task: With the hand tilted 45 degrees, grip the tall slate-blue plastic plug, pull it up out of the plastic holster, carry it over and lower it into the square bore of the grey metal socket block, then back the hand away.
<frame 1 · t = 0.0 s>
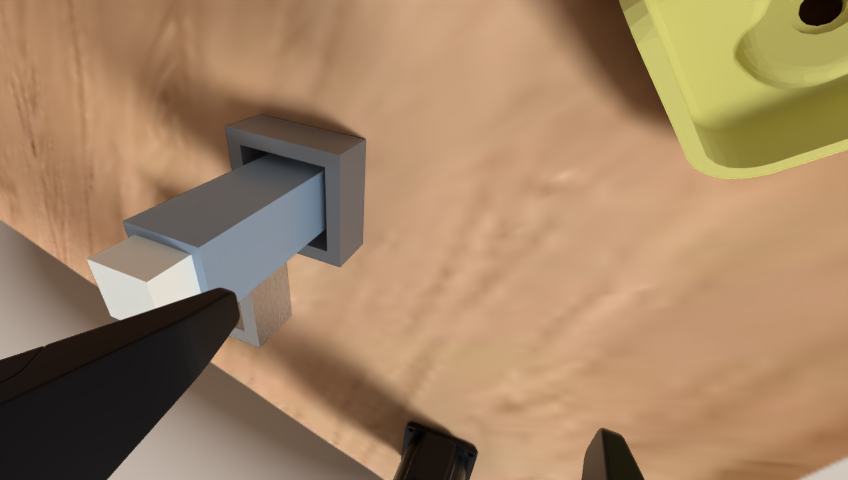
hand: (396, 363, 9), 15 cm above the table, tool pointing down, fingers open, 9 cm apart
socket block: (244, 261, 33), on the table
holster: (313, 181, 26), on the table
plug: (244, 226, 21), in the holster
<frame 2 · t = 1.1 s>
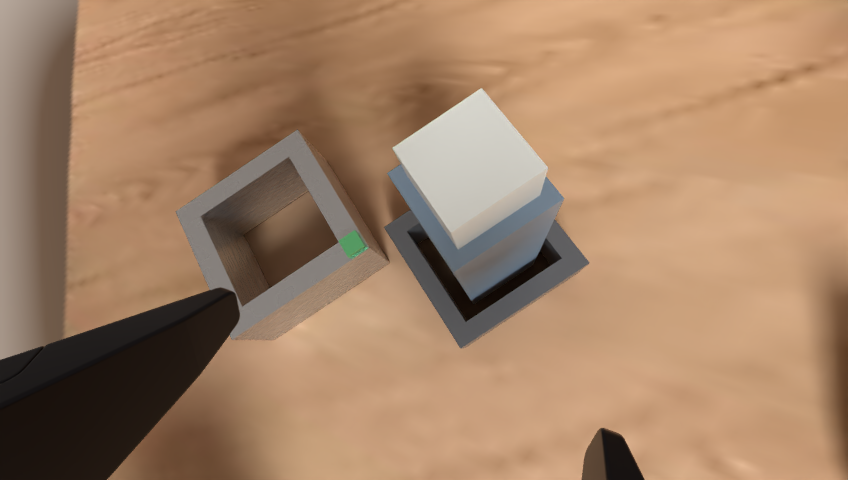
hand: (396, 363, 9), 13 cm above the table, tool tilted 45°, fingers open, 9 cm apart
socket block: (301, 245, 25), on the table
holster: (482, 256, 23), on the table
plug: (477, 225, 17), in the holster
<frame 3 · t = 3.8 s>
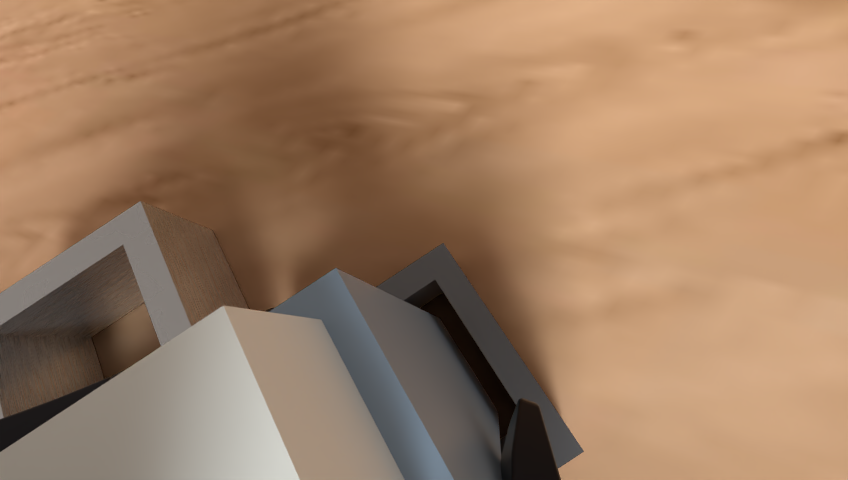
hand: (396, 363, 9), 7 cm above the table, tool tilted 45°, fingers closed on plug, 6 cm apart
socket block: (167, 359, 17), on the table
holster: (423, 392, 15), on the table
plug: (377, 423, 9), in the holster, touching gripper
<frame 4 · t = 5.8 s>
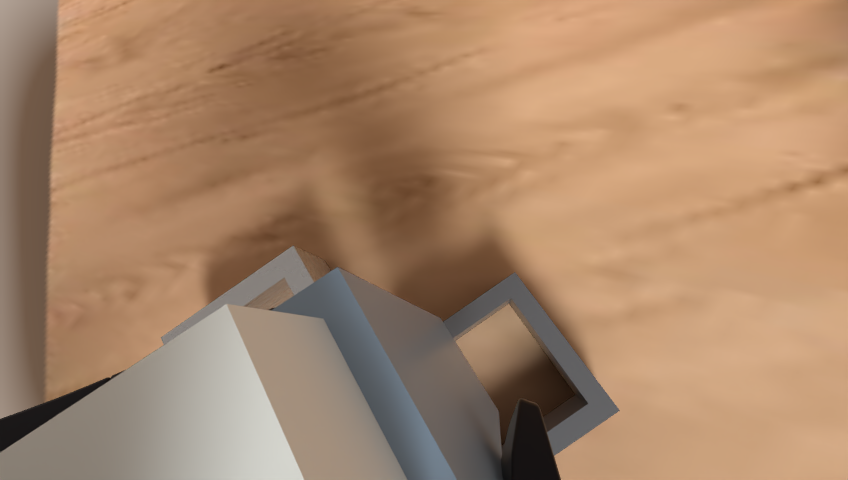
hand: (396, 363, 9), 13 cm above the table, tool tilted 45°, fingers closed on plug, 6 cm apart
socket block: (299, 358, 23), on the table
holster: (497, 377, 21), on the table
plug: (378, 423, 9), point 13 cm above the table, touching gripper
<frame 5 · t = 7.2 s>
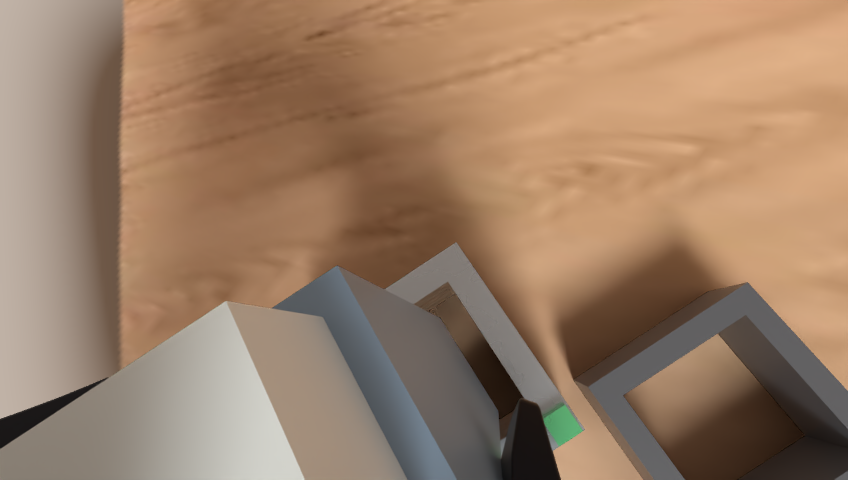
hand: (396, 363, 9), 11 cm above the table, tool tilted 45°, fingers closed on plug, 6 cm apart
socket block: (438, 378, 19), on the table
holster: (698, 410, 17), on the table
plug: (377, 422, 9), point 11 cm above the table, touching gripper
when the fingers open (8 cm above the table, at t = 8.2 s): plug drops 1 cm, resting in socket block.
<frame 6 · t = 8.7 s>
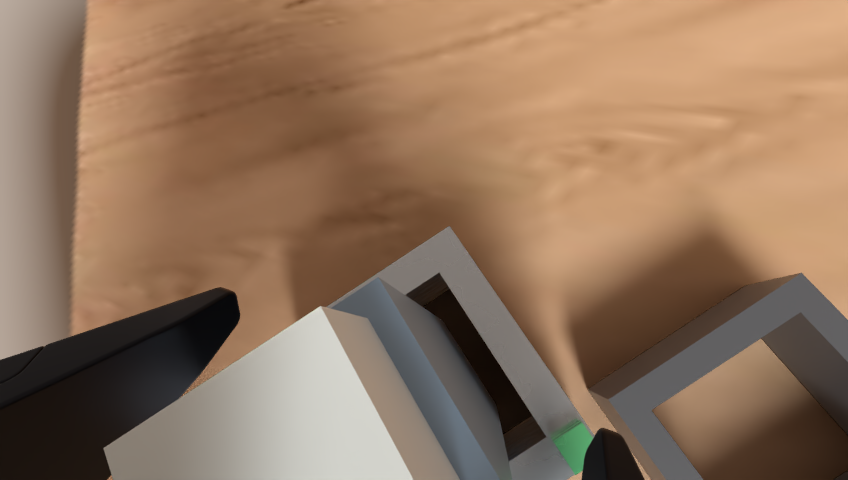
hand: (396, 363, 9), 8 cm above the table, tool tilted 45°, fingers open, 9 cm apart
socket block: (430, 387, 17), on the table
holster: (737, 425, 15), on the table
plug: (395, 411, 10), in the socket block
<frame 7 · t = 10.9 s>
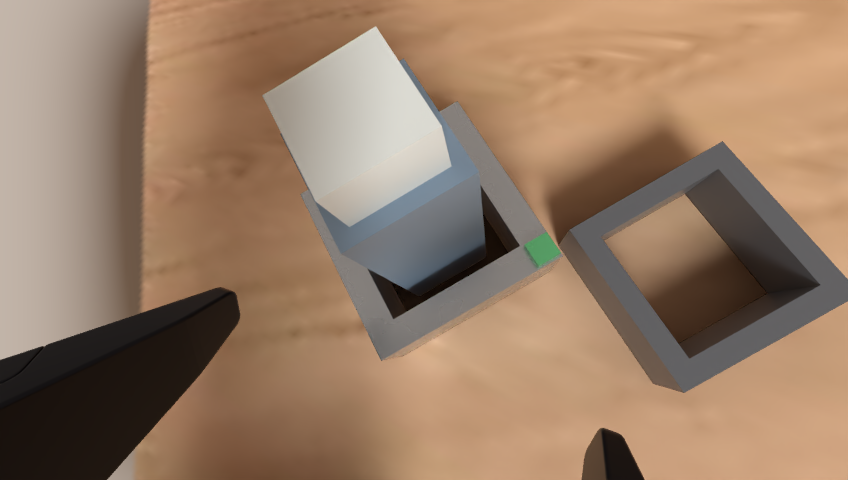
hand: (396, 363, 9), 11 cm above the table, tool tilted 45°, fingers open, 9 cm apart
socket block: (434, 243, 21), on the table
holster: (672, 271, 19), on the table
plug: (408, 205, 15), in the socket block
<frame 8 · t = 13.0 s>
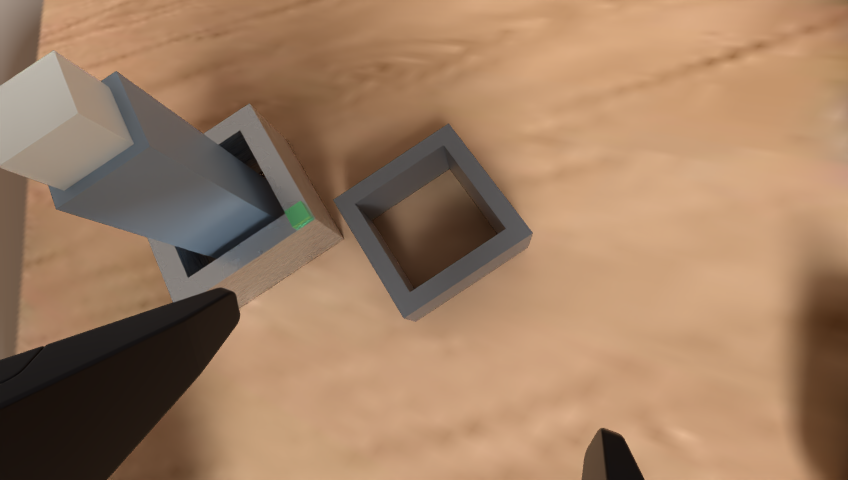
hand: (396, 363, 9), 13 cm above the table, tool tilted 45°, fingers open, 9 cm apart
socket block: (257, 222, 25), on the table
holster: (435, 231, 23), on the table
plug: (179, 184, 19), in the socket block
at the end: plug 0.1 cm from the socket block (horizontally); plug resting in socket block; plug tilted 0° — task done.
